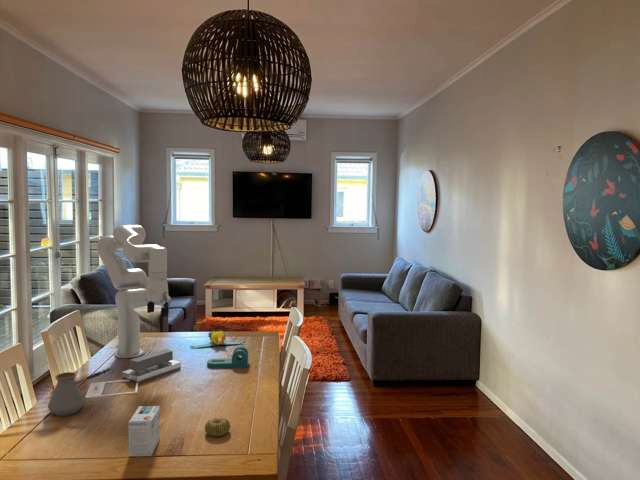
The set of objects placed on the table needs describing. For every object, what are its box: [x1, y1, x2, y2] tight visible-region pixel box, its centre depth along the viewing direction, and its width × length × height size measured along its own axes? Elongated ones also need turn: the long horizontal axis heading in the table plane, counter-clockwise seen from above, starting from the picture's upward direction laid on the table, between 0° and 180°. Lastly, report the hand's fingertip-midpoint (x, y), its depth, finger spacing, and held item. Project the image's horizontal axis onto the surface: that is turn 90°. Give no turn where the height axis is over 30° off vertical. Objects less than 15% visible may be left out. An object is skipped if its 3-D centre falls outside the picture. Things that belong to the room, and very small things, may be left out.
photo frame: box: [84, 379, 139, 400], centre depth 192 cm, size 15×1×18 cm
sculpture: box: [204, 417, 231, 437], centre depth 157 cm, size 8×4×8 cm
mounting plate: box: [121, 359, 182, 385], centre depth 209 cm, size 10×22×3 cm, turn 146°
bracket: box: [206, 345, 249, 369], centre depth 220 cm, size 18×7×8 cm, turn 95°
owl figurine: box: [190, 328, 246, 350], centre depth 252 cm, size 28×9×15 cm
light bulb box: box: [127, 405, 161, 457], centre depth 147 cm, size 11×7×11 cm, turn 5°
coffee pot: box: [47, 368, 113, 417], centre depth 171 cm, size 21×12×15 cm, turn 96°
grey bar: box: [129, 348, 174, 374], centre depth 208 cm, size 4×18×7 cm, turn 146°
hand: (157, 314), depth 213 cm, fingers open, 9 cm apart
